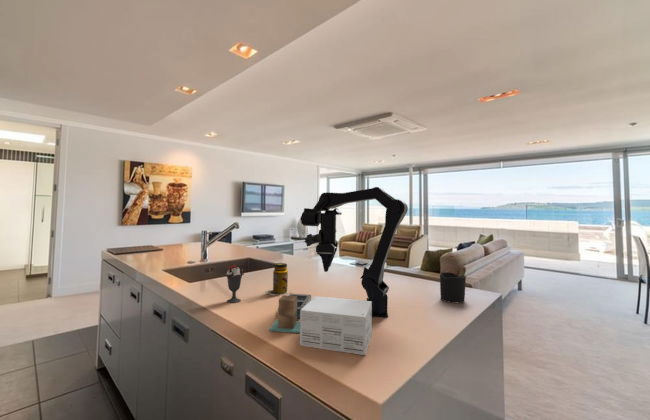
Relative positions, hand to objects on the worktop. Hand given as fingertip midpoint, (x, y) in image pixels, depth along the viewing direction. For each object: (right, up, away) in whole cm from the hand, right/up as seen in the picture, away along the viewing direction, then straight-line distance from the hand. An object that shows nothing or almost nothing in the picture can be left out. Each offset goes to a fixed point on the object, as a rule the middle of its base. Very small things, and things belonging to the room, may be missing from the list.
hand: (327, 269), depth 102 cm
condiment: (-21, -13, +14) cm, 28 cm away
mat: (-12, -12, -21) cm, 27 cm away
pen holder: (+50, -14, +9) cm, 53 cm away
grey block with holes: (-11, -13, -6) cm, 18 cm away
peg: (-12, -12, -21) cm, 27 cm away
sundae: (-35, -13, +2) cm, 37 cm away
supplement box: (+2, -13, -28) cm, 31 cm away
